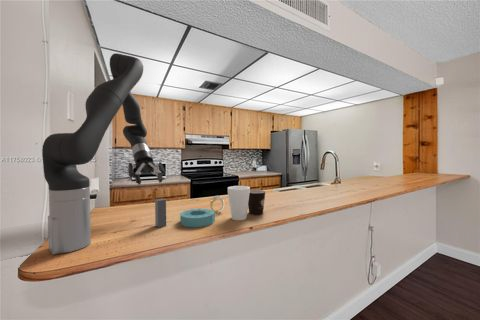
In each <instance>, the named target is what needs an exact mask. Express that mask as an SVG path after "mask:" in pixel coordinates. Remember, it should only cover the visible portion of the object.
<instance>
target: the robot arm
mask: <svg viewBox="0 0 480 320" xmlns="http://www.w3.org/2000/svg"><path fill="white" fill-rule="evenodd" d="M109 69H110V73H111V76H112V79H110V80H107V81H104V82H102V83H101V84H100V83H99V85H97V86H96V87H94V89H93V90H92V91H91V93H90V94H89V95H88V97H87V98H86V101H85V104H84V105H85V114H86V118H85V120H84V122H83V123H82V124H81V125H80V127H79V128H78V129H77V130H76V131H75V132H61V133H60V132H59V133H53V134H50V135H48V136H47V137H46V138H45V139H44V141H43V144H42V150H41V152H42V153H41V154H42V155H41V156H42V165H43V166H42V167H43V176H44V177H43V178H44V179H45V182H46V183H47V185H48V211H49V213H48V216H47V240H48V250H49V251H50V252H49V253H51V255H52V256H53V255H58V254H66V253H71V252H75V251H78V250H82V249H83V248H85V247H87V246H89V245H90V244H91V242H92V241H91V240H92V237H91V236H92V234H91V197H90V196H91V193H90V192H91V191H90V189H91V188H90V186H91V185H90V183H91V182H90V179H89V177H88V176H86V175H84V174H82V173H80V172H79V170H78V167H77V166H79V165H80V166H81V165H86V164H88V163H89V162H90V161H92V160H93V159H94V157H95V155H96V154H97V152H98V149H99V148H100V145H101V143H102V141H103V139H104V136H105V134H106V132H107V130H108V129H109V126H110V125H111V123H112V122H113V120H114V118H115V117H116V115H117V114H118V112H119V110H120V109H121V107H122V110H123V115H124V120H125V122H126V123H127V124H130V125H125V126H124V127H123V128H122V133H123V136H124V138H125V139H126V140H127V141H128V143H129V144H130V147H131V150H132V151H131V153H132V157H133V159H134V160H133V161H134V164H133V163H132V162H129V163H128V166H127V169H128V176H129V177H130V178H134V179H135V182H136V184H138V185H141V183H142V180H141V177H140V175H141V174H150V173H151V174H152V175H155V176H157V177H156V178H157V180H158V183H159V184H160V183H162V182H163V180H164V177H163V176H164V174H165V172H166V169H165V167H164V165H163V163H162V162H161V161H159V162H158V163H155V162H154V159H153V155H152V152H151V150H150V147H149V146H148V142H147V140H146V137H147V136H148V135H147V134H148V132H147V129H146V126H145V125H144V124H145V123H143V120H142V114H141V107H140V104H139V102H138V100H137V99H136V97H135V96H134V95H133V92H131V91H132V90H133V89H134V88H135V86H136V85H137V84H138V83H139V82H140V80H141V79H142V77H143V74H144V65H143V62H142V61H141V59H139V58H137V57H135V56H133V55H127V54H123V53H113V54H111V56H110V58H109ZM134 169H136V171H135V172H134Z"/></svg>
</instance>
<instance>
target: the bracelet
mask: <svg viewBox="0 0 480 320" xmlns="http://www.w3.org/2000/svg"><path fill="white" fill-rule="evenodd" d="M217 200H220V201H221V203H222V204H221V208H220V209H219V210H214V209H213V204H214V203H215V202H216V201H217ZM225 204H226V203H225V200H224V198H223V197H221V195H215V196H213V197H212V198H211V200H210V202H209V208H210V210H213V211H214V212H215V214H216V213H217V214H219V213H220V212H222V211H223V210H224V208H225Z"/></svg>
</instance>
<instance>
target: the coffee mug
mask: <svg viewBox="0 0 480 320" xmlns="http://www.w3.org/2000/svg"><path fill="white" fill-rule="evenodd" d="M265 197H266V191H265V190H262V189H250V194H249V201H248V214H249V215H252V216H261V215H263V214H264V208H265V199H266V198H265Z"/></svg>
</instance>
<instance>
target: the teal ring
mask: <svg viewBox="0 0 480 320" xmlns="http://www.w3.org/2000/svg"><path fill="white" fill-rule="evenodd" d="M213 210H214V209H213ZM213 210H211V208H210V209H209V208H192V209H187V210H183V211H182V212H181V213H180V214H179V215H180V217H179V219H180V221H179V222H180V225H181V226H183V227H186V228H201V227H202V226H203V227H207V226H210V225H213V224H214V222H216V217H215V216H216V215H215V214H216V212H214V211H215V210H214V211H213Z"/></svg>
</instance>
